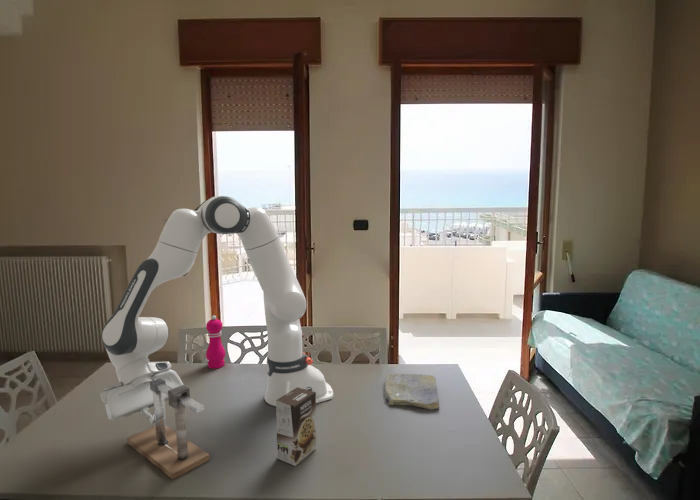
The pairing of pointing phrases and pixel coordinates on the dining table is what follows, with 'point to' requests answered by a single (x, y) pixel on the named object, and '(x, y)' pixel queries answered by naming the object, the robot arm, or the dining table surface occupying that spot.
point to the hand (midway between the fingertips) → (157, 421)
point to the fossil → (411, 390)
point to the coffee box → (296, 425)
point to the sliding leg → (159, 406)
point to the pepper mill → (215, 344)
